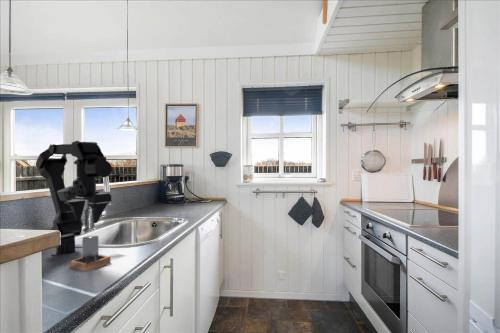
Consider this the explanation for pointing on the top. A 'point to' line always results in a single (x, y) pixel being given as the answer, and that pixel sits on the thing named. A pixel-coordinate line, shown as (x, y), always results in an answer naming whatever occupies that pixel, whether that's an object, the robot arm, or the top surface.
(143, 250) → the top surface
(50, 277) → the top surface
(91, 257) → the dark grey cylinder
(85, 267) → the wooden board with frame
